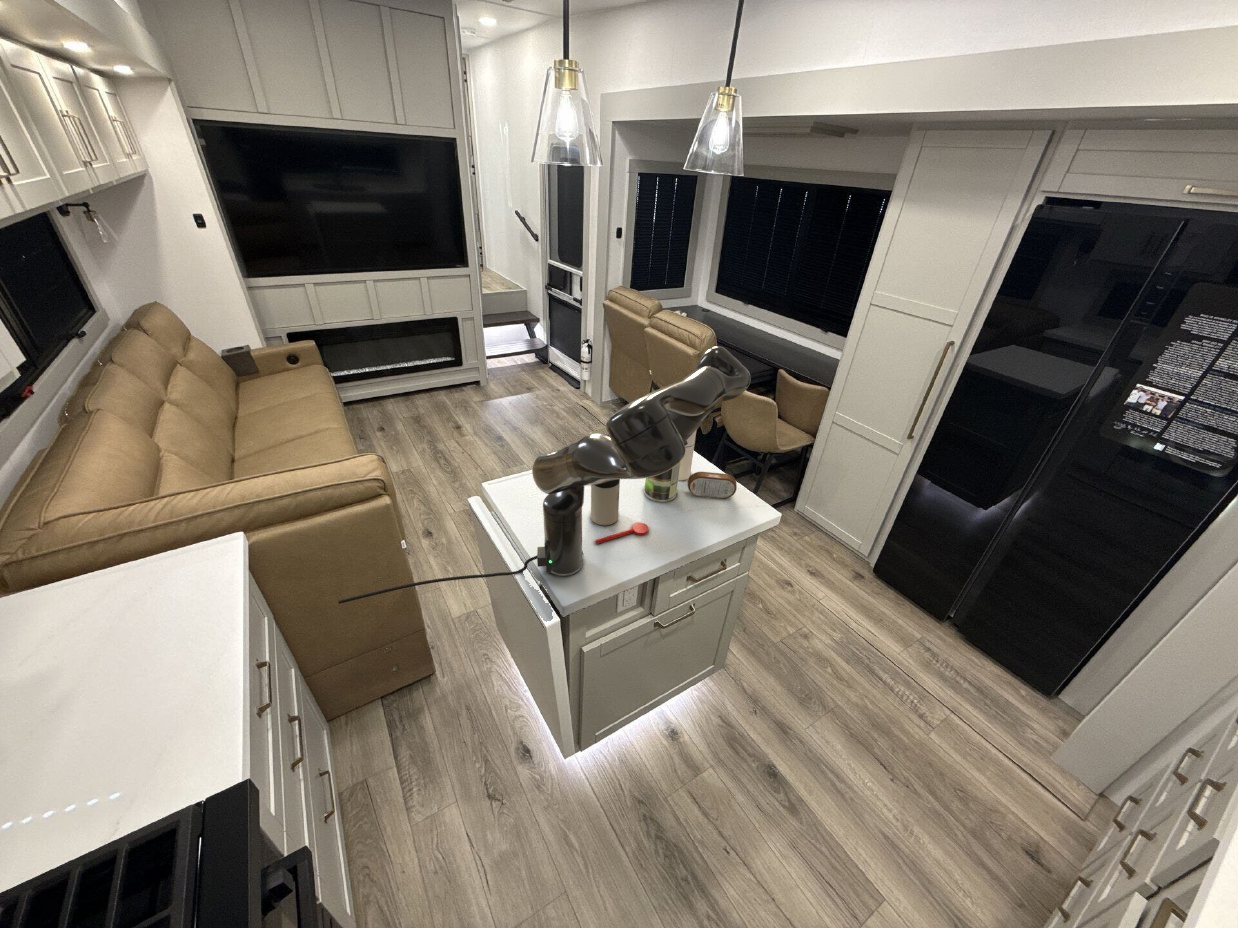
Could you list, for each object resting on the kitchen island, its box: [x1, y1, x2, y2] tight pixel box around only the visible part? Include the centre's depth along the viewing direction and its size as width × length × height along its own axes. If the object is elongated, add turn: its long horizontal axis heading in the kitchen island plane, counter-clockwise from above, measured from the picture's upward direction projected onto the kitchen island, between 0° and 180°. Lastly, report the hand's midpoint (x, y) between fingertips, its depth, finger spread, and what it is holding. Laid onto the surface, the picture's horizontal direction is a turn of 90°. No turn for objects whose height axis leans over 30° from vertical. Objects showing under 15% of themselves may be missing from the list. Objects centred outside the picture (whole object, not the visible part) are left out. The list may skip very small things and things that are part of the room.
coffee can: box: [643, 462, 680, 503], centre depth 148 cm, size 10×10×14 cm
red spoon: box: [594, 522, 649, 545], centre depth 134 cm, size 16×5×1 cm, turn 117°
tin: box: [687, 471, 738, 500], centre depth 149 cm, size 15×3×8 cm, turn 84°
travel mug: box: [590, 479, 621, 526], centre depth 136 cm, size 8×8×18 cm
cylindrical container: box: [678, 430, 697, 481], centre depth 154 cm, size 7×7×25 cm
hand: (648, 458), depth 120 cm, fingers closed
